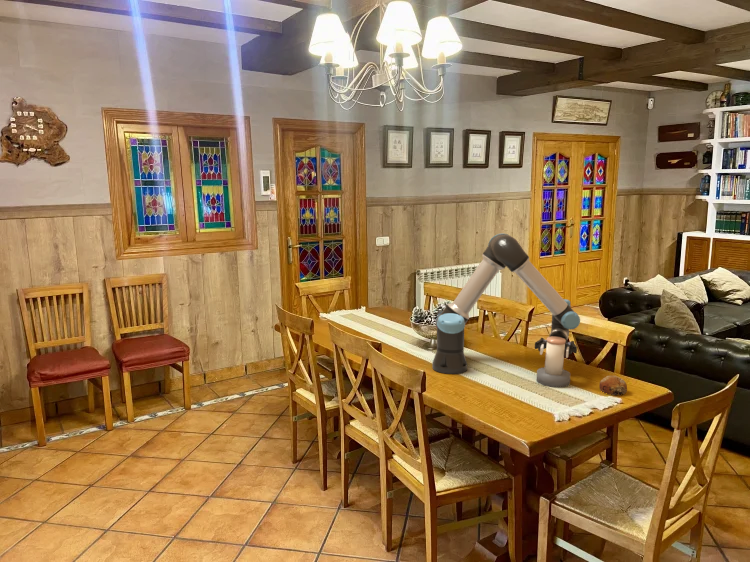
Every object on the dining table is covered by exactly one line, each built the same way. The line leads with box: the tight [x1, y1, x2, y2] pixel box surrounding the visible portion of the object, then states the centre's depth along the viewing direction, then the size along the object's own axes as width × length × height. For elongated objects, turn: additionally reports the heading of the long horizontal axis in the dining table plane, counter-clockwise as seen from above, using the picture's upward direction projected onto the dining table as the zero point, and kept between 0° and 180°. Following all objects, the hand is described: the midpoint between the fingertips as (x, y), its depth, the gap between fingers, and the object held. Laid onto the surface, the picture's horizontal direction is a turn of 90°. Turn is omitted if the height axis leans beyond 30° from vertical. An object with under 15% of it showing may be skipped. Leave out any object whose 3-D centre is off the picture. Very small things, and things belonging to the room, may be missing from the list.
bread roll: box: [599, 375, 628, 396], centre depth 215 cm, size 10×10×8 cm
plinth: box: [536, 367, 571, 388], centre depth 225 cm, size 13×13×4 cm
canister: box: [544, 336, 566, 375], centre depth 224 cm, size 7×7×14 cm
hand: (553, 352), depth 219 cm, fingers open, 9 cm apart
